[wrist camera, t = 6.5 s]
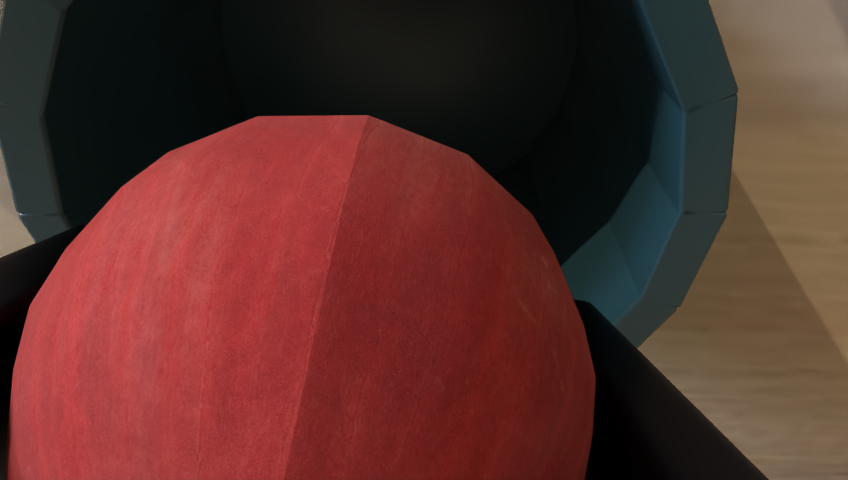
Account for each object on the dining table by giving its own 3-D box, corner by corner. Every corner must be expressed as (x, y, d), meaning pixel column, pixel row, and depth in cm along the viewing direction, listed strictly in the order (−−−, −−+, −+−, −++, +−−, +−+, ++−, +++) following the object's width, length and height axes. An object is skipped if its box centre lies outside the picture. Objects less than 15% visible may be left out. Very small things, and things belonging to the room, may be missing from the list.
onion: (580, 291, 11) (806, 1040, 4) (291, 375, 12) (112, 1045, 5) (465, -44, 8) (613, 703, 1) (99, 115, 9) (-808, 891, 2)
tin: (111, -84, 16) (-198, 0, 8) (544, -294, 14) (681, -456, 6) (309, 253, 22) (236, 488, 14) (638, 150, 20) (769, 366, 12)
